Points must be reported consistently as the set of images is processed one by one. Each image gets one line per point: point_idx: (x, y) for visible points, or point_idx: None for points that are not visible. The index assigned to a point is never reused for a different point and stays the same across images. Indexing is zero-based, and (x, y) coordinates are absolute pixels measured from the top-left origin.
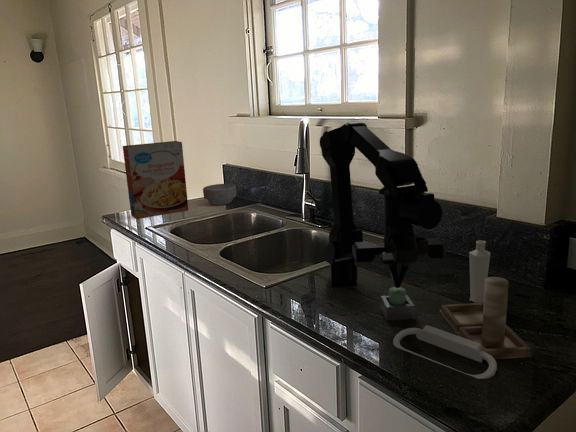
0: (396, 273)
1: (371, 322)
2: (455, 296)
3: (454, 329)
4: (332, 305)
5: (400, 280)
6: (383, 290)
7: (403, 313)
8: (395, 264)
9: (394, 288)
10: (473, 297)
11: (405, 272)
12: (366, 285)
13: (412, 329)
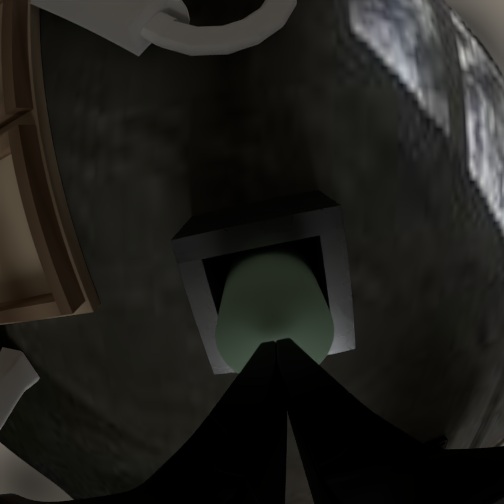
0: (306, 415)
1: (381, 208)
2: (78, 414)
3: (40, 142)
4: (481, 333)
5: (255, 373)
6: None
7: (239, 216)
8: (375, 498)
9: None
10: (13, 374)
11: (197, 431)
12: None
13: (202, 33)
